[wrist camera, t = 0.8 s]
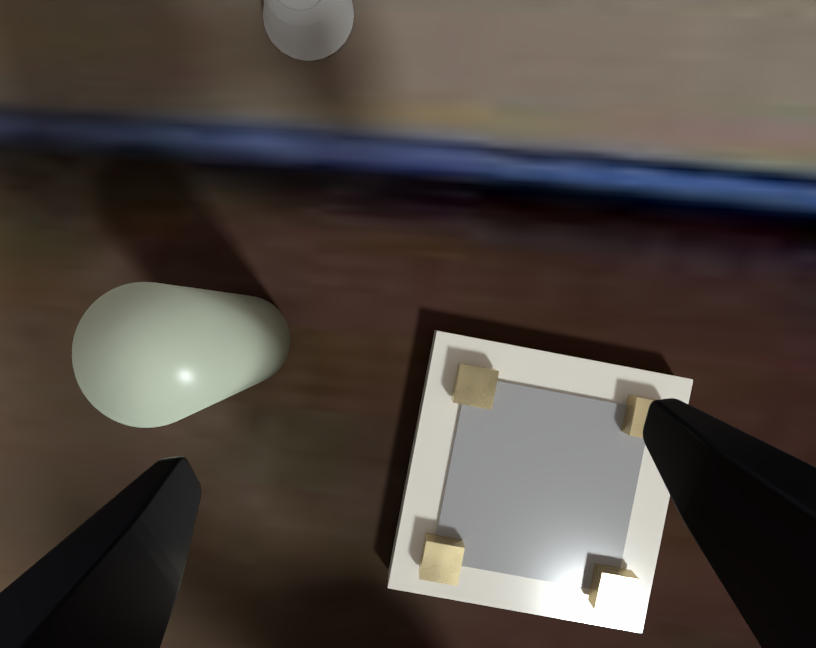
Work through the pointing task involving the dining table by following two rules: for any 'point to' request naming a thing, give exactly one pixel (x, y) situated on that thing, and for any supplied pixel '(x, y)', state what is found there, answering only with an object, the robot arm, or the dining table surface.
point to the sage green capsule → (174, 350)
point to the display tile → (533, 484)
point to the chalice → (308, 26)
